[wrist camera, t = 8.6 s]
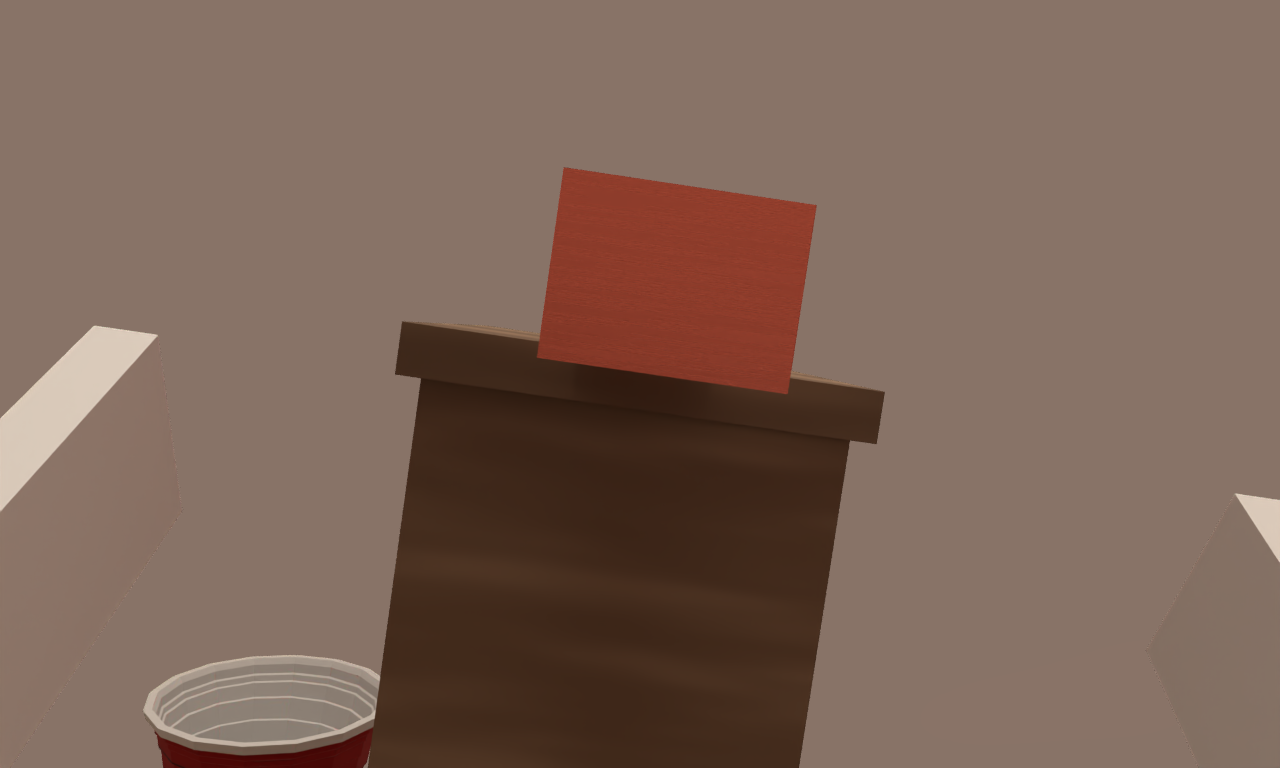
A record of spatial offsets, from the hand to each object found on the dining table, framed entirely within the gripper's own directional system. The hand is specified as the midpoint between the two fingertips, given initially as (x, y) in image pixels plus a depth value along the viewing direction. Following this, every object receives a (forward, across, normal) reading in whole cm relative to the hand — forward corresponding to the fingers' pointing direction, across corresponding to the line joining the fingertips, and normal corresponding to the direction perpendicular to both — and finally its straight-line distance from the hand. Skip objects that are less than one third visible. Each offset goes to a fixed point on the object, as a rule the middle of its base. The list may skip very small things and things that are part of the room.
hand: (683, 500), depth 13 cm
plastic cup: (+16, -15, -42) cm, 48 cm away
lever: (+11, -1, -5) cm, 12 cm away
